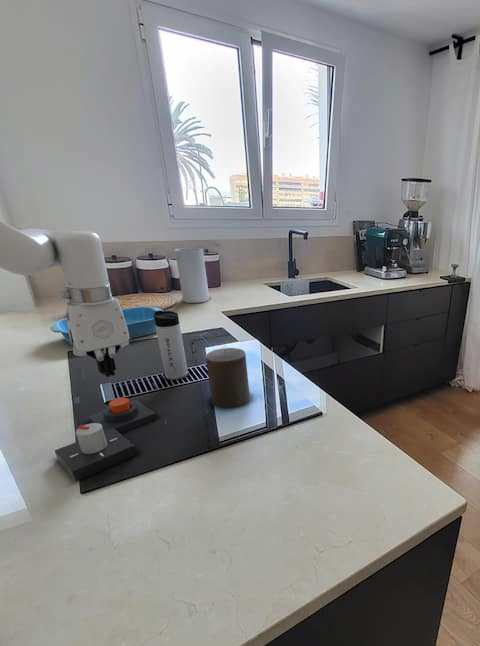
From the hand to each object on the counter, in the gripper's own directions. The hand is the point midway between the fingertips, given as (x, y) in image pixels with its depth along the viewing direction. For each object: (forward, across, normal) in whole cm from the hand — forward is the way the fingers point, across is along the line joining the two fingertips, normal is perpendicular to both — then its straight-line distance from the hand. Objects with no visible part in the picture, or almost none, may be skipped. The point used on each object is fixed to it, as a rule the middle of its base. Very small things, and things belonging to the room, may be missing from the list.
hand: (108, 374), depth 88 cm
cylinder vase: (+12, +74, +94) cm, 120 cm away
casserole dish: (+13, +25, +66) cm, 72 cm away
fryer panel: (+13, -9, -12) cm, 19 cm away
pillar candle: (+12, +24, -10) cm, 29 cm away
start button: (+9, +1, 0) cm, 9 cm away
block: (+13, +1, 0) cm, 13 cm away
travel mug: (+13, +22, +14) cm, 29 cm away
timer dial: (+10, -9, -12) cm, 18 cm away
